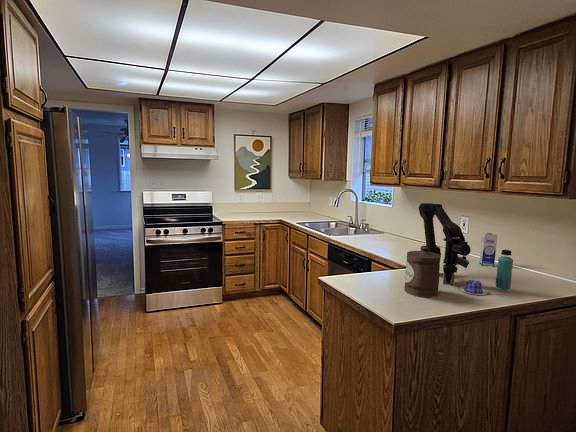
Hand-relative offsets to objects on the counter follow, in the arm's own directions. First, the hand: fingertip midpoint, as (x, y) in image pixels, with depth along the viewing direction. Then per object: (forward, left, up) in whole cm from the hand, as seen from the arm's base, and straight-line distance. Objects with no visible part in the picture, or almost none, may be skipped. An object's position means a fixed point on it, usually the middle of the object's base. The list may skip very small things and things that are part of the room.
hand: (448, 281), depth 187 cm
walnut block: (0, 0, -1) cm, 1 cm away
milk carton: (+22, +52, -1) cm, 56 cm away
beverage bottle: (+24, 0, -1) cm, 24 cm away
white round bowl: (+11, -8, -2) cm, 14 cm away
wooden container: (-12, -21, -1) cm, 24 cm away
